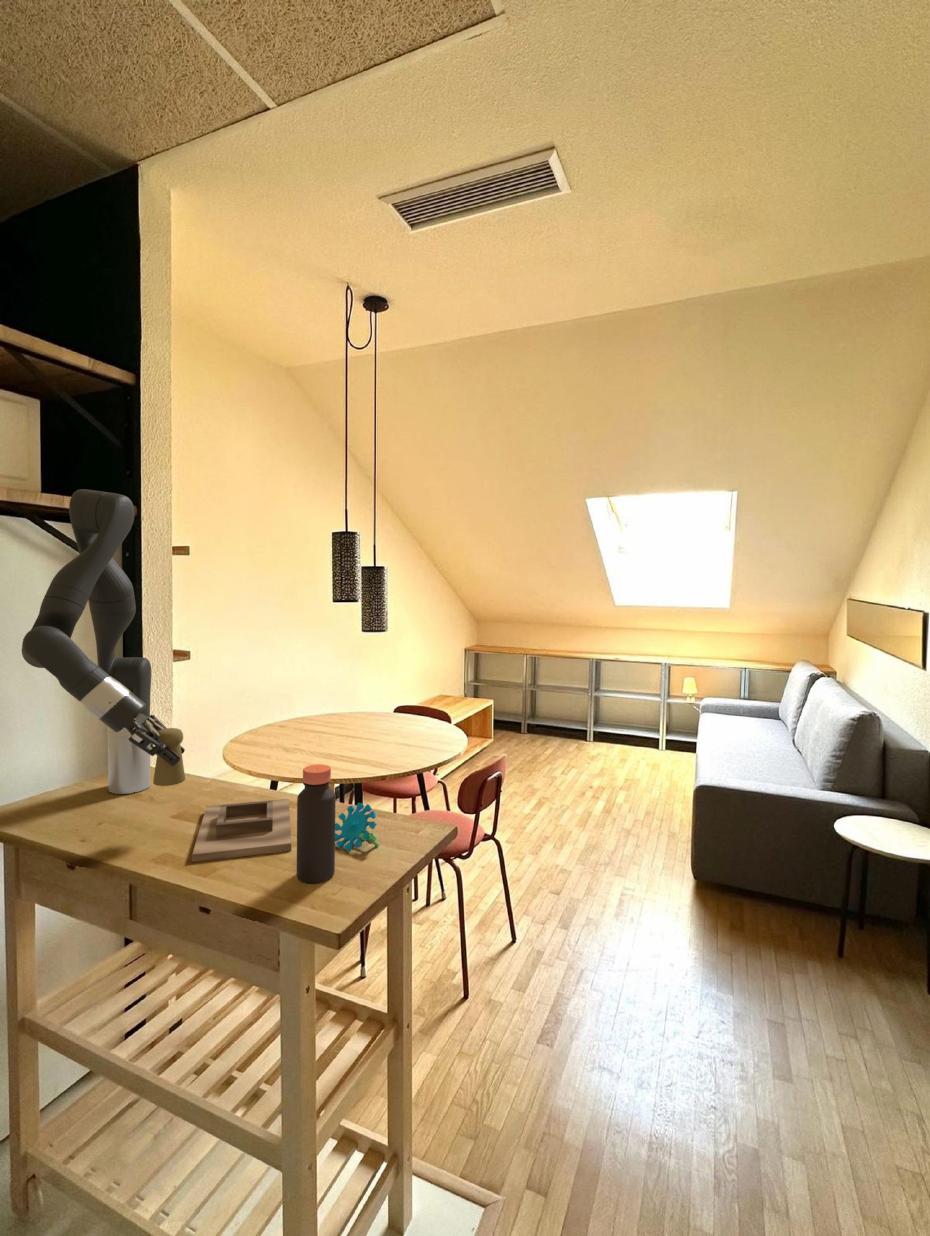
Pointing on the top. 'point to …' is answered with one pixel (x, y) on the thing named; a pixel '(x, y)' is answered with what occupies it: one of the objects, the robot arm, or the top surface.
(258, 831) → the jig board
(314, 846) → the bottle
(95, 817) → the top surface
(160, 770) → the cork
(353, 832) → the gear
